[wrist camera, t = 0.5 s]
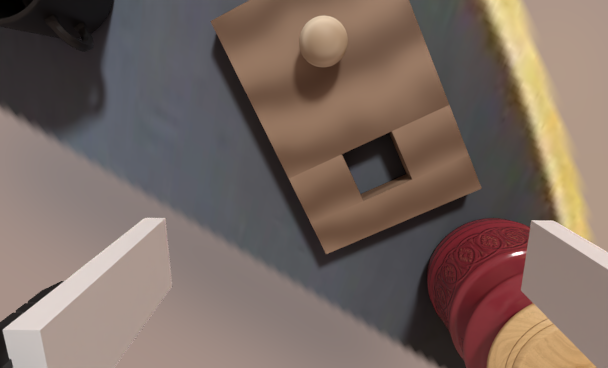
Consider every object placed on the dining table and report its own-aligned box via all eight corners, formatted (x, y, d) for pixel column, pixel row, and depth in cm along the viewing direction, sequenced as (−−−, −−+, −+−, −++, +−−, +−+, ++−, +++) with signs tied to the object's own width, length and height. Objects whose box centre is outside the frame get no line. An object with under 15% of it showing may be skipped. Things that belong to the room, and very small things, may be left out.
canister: (572, 281, 41) (755, 420, 24) (469, 348, 43) (568, 517, 26) (503, 189, 39) (648, 269, 22) (399, 264, 41) (455, 390, 24)
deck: (217, 25, 36) (210, 21, 34) (377, -60, 34) (381, -71, 32) (325, 244, 41) (326, 254, 38) (471, 182, 39) (481, 188, 36)
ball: (292, 33, 34) (289, 26, 30) (334, 11, 33) (336, 1, 29) (312, 76, 34) (311, 74, 31) (353, 56, 34) (358, 51, 30)
